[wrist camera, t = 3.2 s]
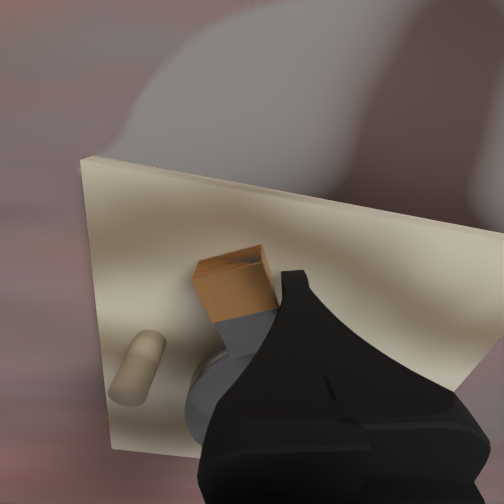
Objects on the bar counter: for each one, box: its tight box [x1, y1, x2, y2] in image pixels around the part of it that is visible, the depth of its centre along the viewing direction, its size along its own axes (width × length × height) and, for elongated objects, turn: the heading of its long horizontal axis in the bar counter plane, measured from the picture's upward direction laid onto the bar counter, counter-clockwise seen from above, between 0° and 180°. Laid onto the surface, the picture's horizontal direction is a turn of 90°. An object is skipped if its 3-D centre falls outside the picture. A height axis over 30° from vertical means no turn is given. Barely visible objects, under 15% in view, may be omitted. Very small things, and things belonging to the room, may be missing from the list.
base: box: [80, 155, 504, 458], centre depth 14 cm, size 20×20×6 cm
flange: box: [184, 244, 280, 447], centre depth 13 cm, size 14×10×1 cm
